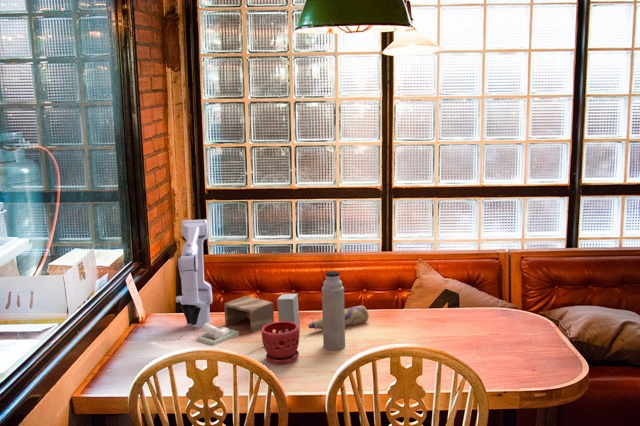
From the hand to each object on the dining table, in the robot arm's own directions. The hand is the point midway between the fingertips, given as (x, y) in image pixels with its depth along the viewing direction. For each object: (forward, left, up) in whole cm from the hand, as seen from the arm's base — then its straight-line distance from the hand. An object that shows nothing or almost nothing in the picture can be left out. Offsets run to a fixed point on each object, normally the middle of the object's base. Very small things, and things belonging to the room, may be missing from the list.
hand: (192, 323), depth 239 cm
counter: (0, +29, -10) cm, 31 cm away
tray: (0, +12, -11) cm, 16 cm away
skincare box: (+20, +31, -10) cm, 38 cm away
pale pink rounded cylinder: (+1, +15, -7) cm, 17 cm away
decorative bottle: (+29, +50, -10) cm, 59 cm away
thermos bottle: (+41, +32, -10) cm, 53 cm away
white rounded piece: (0, +11, -7) cm, 13 cm away
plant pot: (+33, +12, -10) cm, 36 cm away
